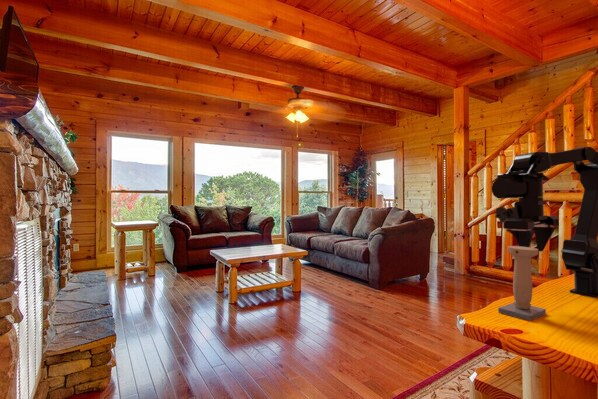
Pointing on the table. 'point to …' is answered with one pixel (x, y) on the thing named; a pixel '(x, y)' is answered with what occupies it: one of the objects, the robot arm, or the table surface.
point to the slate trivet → (522, 312)
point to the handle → (522, 275)
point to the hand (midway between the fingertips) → (532, 252)
